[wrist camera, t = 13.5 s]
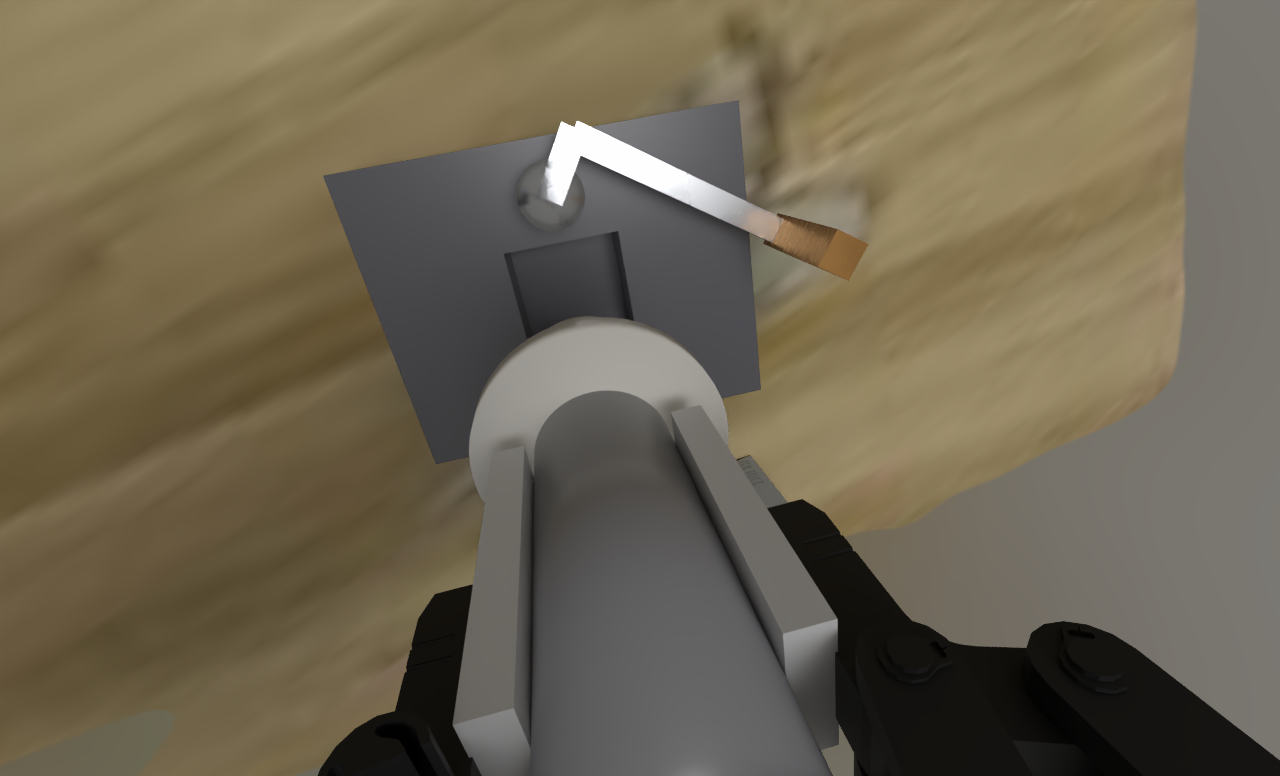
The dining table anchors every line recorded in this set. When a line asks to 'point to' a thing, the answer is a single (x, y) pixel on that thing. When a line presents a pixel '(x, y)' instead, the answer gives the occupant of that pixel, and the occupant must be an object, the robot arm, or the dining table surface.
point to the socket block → (549, 260)
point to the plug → (632, 568)
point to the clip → (559, 197)
